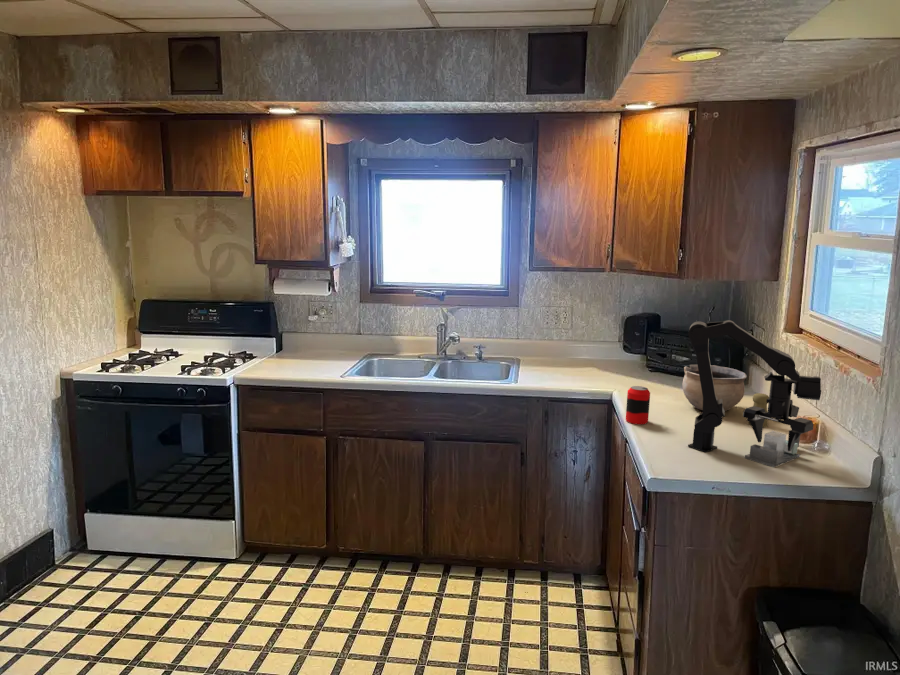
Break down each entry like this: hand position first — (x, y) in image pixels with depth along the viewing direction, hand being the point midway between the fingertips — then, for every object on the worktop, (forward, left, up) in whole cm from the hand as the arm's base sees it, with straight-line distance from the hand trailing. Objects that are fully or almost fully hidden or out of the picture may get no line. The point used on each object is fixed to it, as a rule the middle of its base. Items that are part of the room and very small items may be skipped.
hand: (774, 446), depth 204 cm
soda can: (-5, +46, -4) cm, 46 cm away
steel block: (0, 0, -3) cm, 3 cm away
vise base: (0, 0, -3) cm, 3 cm away
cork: (+28, +20, -4) cm, 34 cm away
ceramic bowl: (+31, +40, -4) cm, 50 cm away
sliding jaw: (+9, 0, -2) cm, 10 cm away
